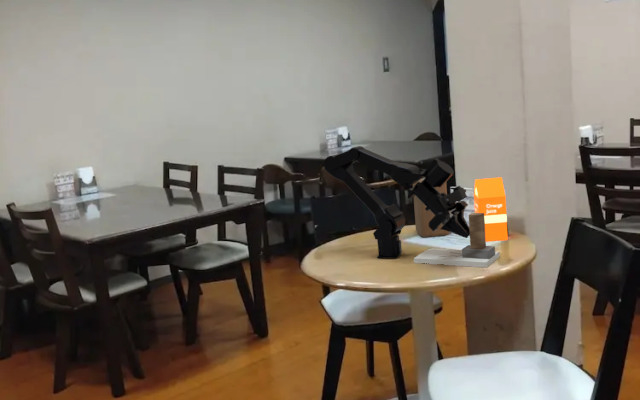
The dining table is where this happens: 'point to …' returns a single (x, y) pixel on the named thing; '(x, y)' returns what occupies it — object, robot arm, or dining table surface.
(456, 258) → the primed board
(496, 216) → the orange juice
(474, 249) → the brown post on stand
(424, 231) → the wooden block
